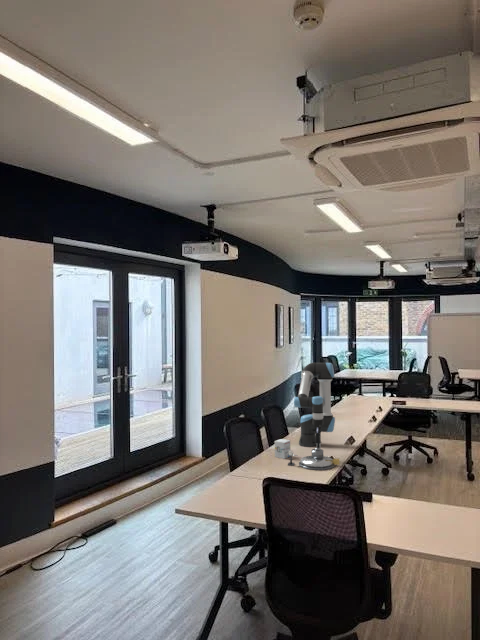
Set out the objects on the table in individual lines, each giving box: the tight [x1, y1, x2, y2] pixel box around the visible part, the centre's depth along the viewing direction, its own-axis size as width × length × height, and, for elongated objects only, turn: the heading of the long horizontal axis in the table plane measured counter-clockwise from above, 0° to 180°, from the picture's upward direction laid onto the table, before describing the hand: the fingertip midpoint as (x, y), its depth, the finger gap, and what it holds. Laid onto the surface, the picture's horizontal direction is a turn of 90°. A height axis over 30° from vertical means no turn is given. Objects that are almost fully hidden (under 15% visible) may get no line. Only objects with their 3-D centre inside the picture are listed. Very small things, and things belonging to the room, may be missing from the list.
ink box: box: [274, 438, 291, 460], centre depth 341 cm, size 8×8×12 cm
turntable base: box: [298, 461, 336, 471], centre depth 319 cm, size 24×24×1 cm
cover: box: [311, 447, 325, 459], centre depth 325 cm, size 8×8×6 cm
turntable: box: [299, 455, 341, 468], centre depth 318 cm, size 22×26×3 cm
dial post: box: [287, 449, 298, 467], centre depth 320 cm, size 4×6×10 cm, turn 75°
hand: (318, 452), depth 332 cm, fingers closed
